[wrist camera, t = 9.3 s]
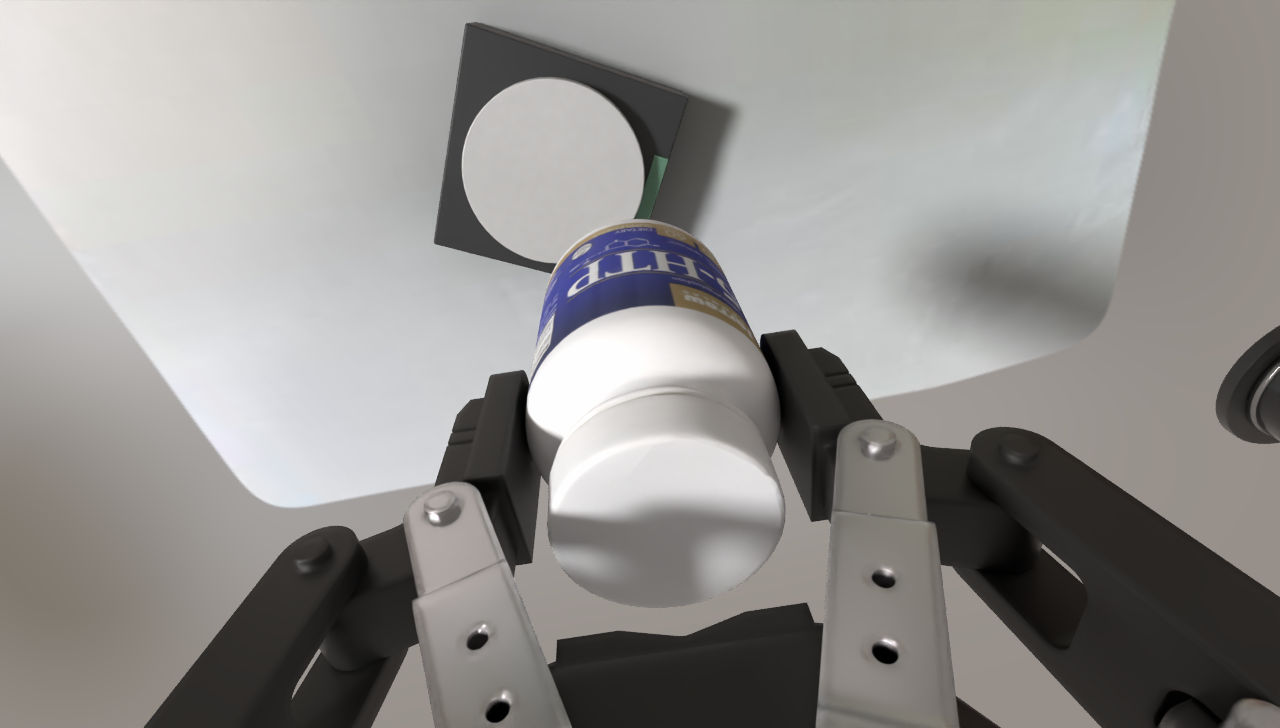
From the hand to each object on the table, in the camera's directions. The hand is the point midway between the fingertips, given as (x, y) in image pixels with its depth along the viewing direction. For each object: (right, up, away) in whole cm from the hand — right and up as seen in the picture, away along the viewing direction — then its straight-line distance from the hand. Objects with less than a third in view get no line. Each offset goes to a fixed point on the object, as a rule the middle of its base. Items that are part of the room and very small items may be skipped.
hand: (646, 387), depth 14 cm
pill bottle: (0, +2, +4) cm, 5 cm away
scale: (-4, +11, +17) cm, 20 cm away
